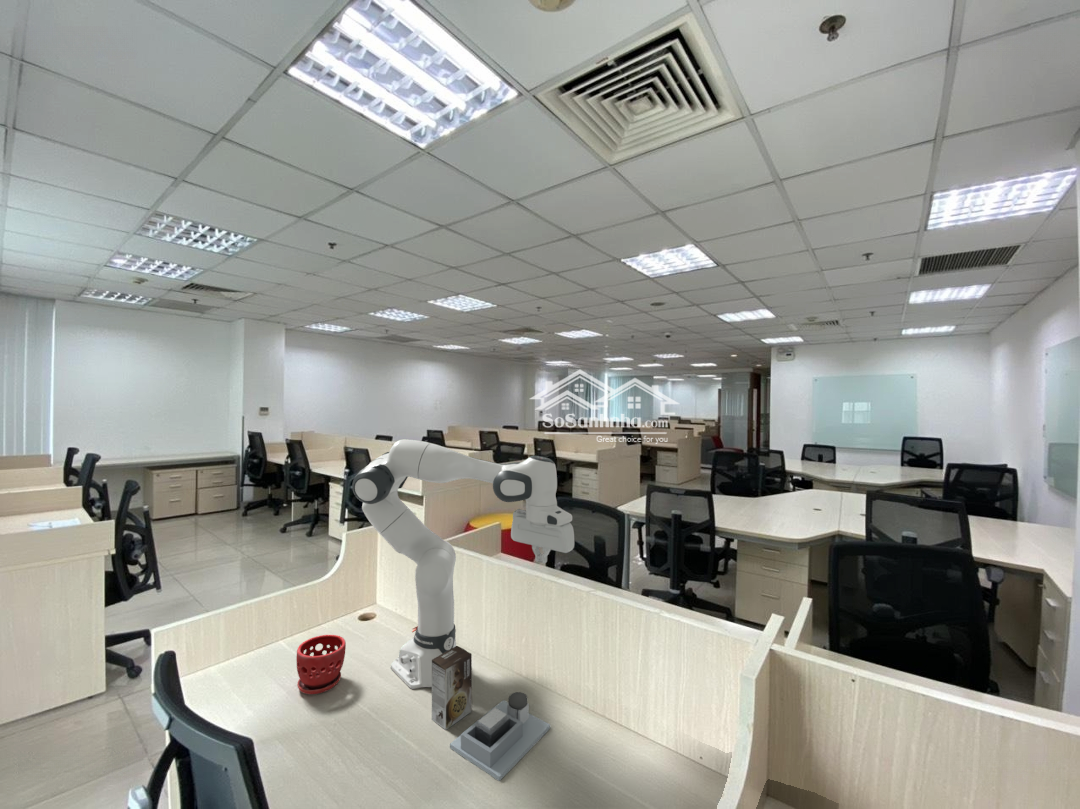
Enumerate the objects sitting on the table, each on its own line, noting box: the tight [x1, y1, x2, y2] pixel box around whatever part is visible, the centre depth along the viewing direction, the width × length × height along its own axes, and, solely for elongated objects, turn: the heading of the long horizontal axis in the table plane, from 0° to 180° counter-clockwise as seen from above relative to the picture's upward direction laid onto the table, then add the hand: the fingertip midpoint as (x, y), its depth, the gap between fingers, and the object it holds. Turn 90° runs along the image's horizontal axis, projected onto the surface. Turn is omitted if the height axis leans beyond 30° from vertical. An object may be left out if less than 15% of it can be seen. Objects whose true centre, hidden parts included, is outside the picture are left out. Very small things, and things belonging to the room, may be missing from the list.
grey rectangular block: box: [475, 708, 510, 748], centre depth 108 cm, size 5×7×6 cm
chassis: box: [449, 699, 551, 782], centre depth 111 cm, size 16×20×5 cm
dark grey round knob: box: [507, 691, 528, 709], centre depth 116 cm, size 5×5×5 cm
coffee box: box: [431, 645, 473, 730], centre depth 119 cm, size 9×6×16 cm
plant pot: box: [295, 634, 347, 695], centre depth 132 cm, size 13×13×12 cm
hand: (541, 561), depth 126 cm, fingers closed
